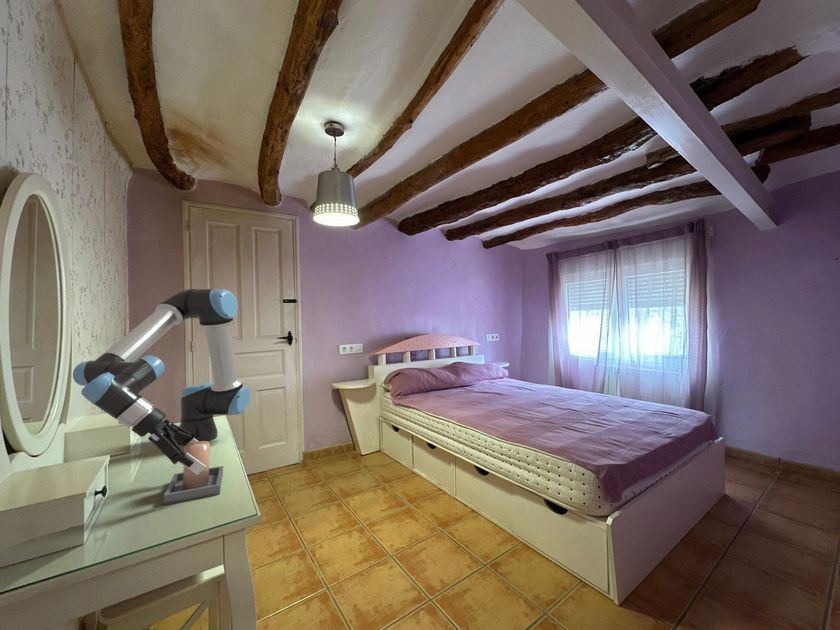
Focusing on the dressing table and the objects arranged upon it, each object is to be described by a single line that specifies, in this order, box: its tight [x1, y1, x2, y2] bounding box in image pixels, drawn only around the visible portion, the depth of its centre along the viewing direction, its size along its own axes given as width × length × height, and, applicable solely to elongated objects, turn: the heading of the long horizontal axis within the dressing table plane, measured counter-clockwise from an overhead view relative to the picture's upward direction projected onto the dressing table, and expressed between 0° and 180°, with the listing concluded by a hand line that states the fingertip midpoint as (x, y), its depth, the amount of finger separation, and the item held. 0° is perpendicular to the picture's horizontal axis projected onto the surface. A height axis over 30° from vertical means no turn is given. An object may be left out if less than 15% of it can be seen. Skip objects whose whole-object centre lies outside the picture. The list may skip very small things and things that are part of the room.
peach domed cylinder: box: [182, 441, 211, 490], centre depth 99 cm, size 6×6×12 cm
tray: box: [162, 465, 224, 506], centre depth 99 cm, size 15×13×2 cm
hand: (204, 461), depth 100 cm, fingers open, 13 cm apart
